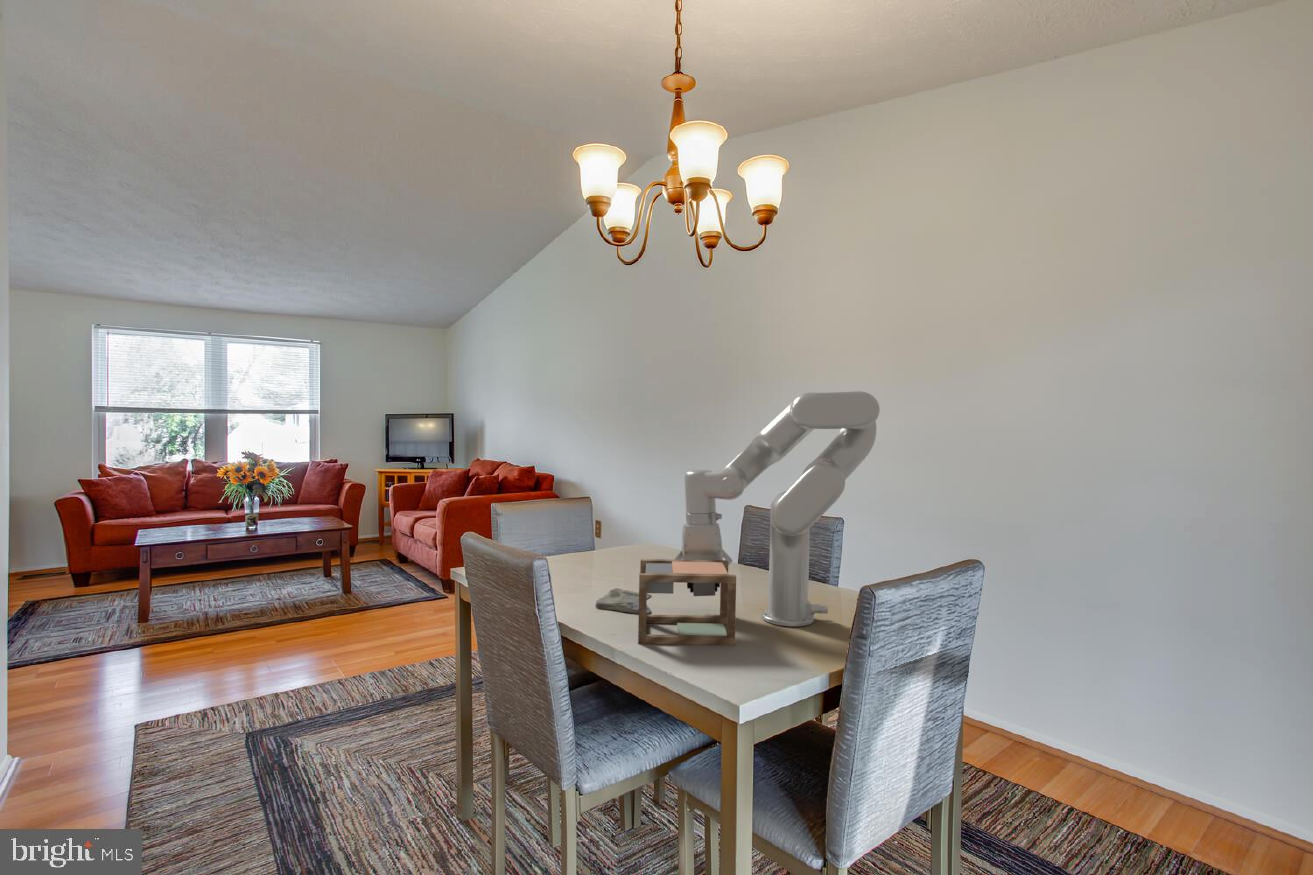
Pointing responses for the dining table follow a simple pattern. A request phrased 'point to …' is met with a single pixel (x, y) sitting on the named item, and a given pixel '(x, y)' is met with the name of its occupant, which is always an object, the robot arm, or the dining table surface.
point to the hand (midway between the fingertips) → (703, 589)
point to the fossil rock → (621, 601)
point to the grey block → (703, 589)
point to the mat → (701, 629)
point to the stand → (725, 615)
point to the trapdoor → (680, 572)
